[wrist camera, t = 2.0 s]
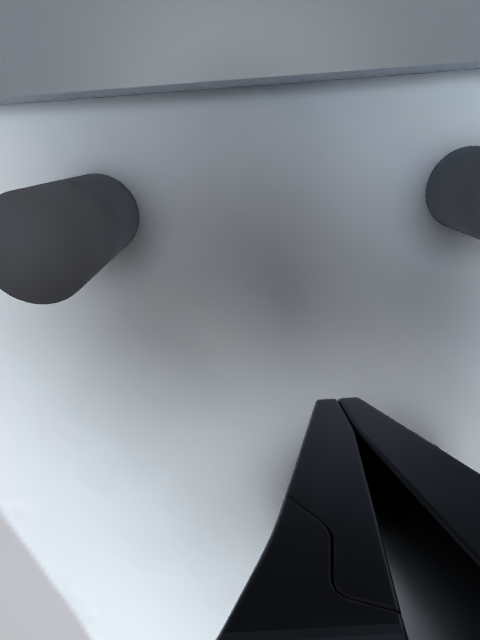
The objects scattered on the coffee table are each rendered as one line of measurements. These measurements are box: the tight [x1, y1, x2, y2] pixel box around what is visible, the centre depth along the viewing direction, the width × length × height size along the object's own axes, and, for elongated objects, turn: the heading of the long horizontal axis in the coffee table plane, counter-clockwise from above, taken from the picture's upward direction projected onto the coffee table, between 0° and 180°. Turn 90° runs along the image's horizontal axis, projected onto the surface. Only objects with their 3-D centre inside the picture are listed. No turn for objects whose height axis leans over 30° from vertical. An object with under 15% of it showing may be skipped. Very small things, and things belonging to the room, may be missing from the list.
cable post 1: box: [0, 174, 139, 304], centre depth 14 cm, size 3×3×6 cm
